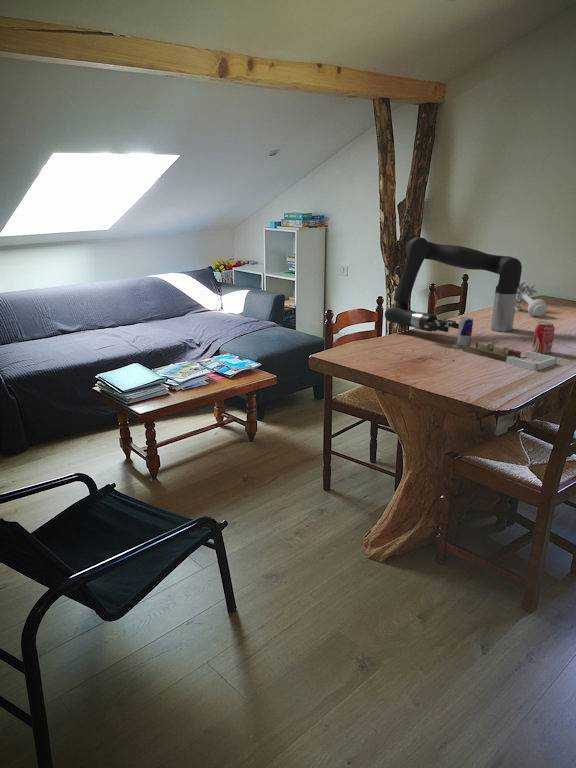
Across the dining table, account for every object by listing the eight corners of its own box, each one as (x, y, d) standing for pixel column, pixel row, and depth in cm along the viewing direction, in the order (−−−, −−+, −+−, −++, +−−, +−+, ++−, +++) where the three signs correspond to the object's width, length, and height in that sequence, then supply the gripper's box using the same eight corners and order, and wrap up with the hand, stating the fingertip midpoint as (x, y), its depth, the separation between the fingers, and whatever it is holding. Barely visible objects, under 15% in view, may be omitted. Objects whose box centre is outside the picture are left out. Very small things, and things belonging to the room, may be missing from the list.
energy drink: (469, 349, 230) (472, 320, 226) (456, 348, 232) (459, 319, 228) (470, 346, 235) (473, 317, 231) (457, 344, 237) (460, 316, 233)
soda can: (534, 349, 230) (538, 320, 226) (552, 351, 227) (557, 322, 223) (529, 352, 225) (534, 323, 221) (548, 355, 221) (553, 325, 217)
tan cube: (482, 350, 228) (484, 341, 227) (491, 352, 225) (492, 343, 224) (477, 352, 226) (478, 342, 225) (485, 354, 223) (486, 344, 222)
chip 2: (498, 354, 223) (499, 344, 222) (507, 356, 220) (508, 346, 219) (492, 356, 221) (493, 346, 220) (501, 358, 218) (502, 348, 217)
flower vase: (541, 329, 291) (520, 308, 312) (558, 297, 281) (535, 277, 302) (519, 326, 288) (499, 304, 309) (535, 293, 279) (513, 273, 299)
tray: (526, 356, 219) (527, 350, 219) (556, 364, 210) (557, 357, 210) (505, 363, 211) (506, 356, 210) (536, 370, 202) (537, 364, 201)
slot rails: (478, 346, 234) (479, 341, 233) (520, 356, 220) (521, 351, 219) (462, 350, 227) (462, 346, 227) (504, 361, 213) (505, 356, 213)
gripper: (413, 315, 242) (444, 321, 230) (434, 311, 250) (465, 317, 238) (412, 332, 244) (442, 339, 232) (433, 327, 252) (464, 334, 240)
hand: (454, 328), depth 235 cm, fingers open, 8 cm apart
